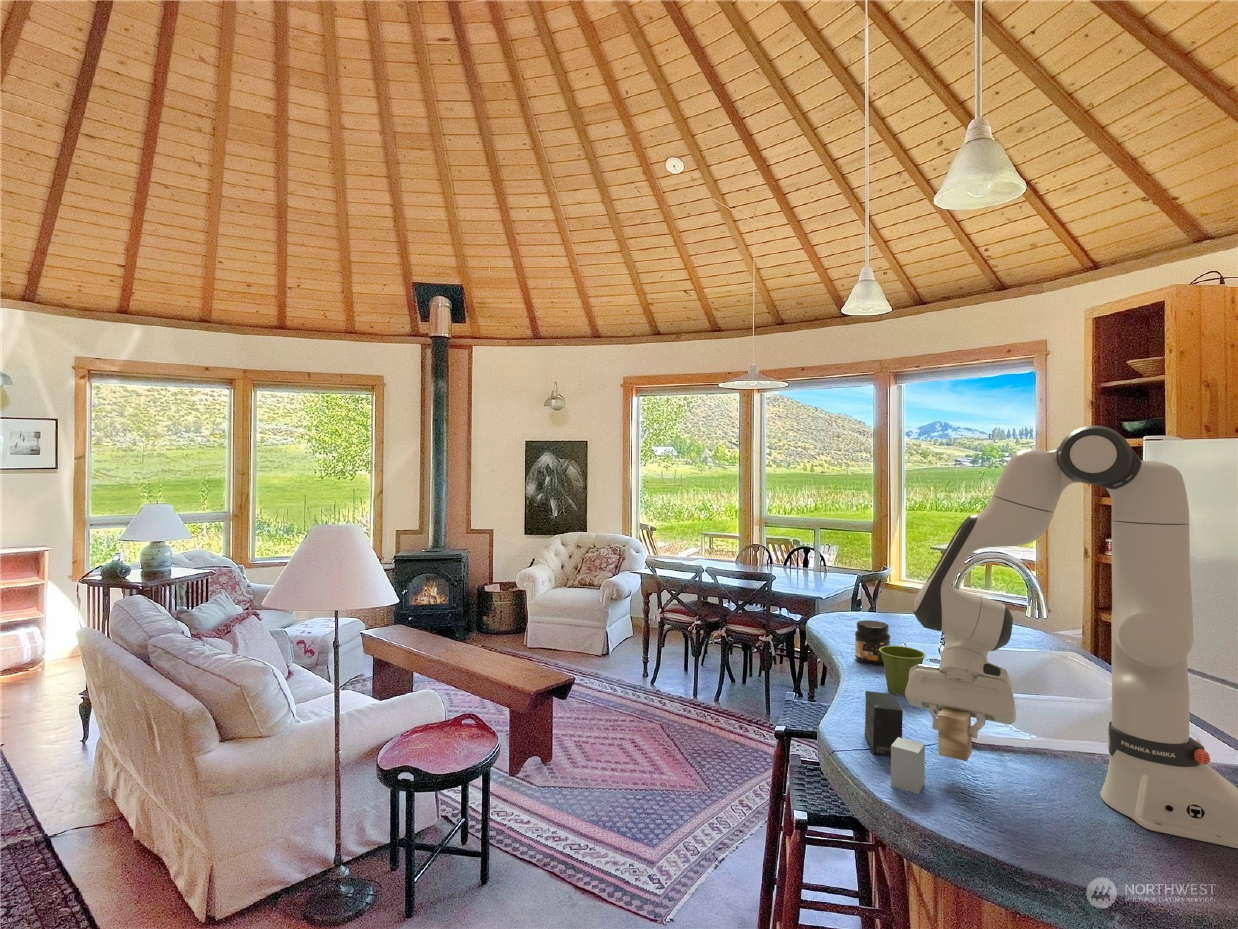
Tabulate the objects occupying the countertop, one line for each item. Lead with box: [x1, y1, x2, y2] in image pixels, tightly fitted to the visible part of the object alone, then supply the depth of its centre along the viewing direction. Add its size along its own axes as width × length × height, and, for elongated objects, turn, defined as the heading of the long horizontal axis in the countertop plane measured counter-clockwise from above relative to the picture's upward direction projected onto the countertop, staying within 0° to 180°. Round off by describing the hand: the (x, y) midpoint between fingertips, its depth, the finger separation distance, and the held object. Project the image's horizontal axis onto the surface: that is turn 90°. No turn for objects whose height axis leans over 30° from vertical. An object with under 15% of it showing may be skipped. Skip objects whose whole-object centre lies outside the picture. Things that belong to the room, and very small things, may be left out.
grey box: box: [890, 737, 926, 795], centre depth 126 cm, size 5×5×8 cm
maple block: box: [937, 707, 973, 762], centre depth 128 cm, size 5×5×8 cm
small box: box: [864, 690, 904, 757], centre depth 143 cm, size 11×6×10 cm, turn 168°
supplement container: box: [854, 619, 891, 666], centre depth 204 cm, size 10×10×12 cm
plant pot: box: [879, 645, 927, 697], centre depth 176 cm, size 12×12×11 cm
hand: (954, 732), depth 128 cm, fingers closed on maple block, 5 cm apart
